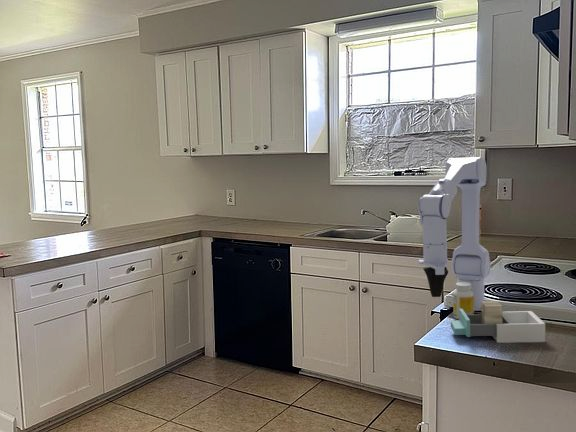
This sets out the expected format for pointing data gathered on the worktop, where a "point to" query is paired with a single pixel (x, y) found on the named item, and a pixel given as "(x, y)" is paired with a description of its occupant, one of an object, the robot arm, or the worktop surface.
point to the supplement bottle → (463, 299)
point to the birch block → (491, 312)
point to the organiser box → (520, 328)
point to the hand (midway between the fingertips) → (436, 296)
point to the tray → (474, 325)
